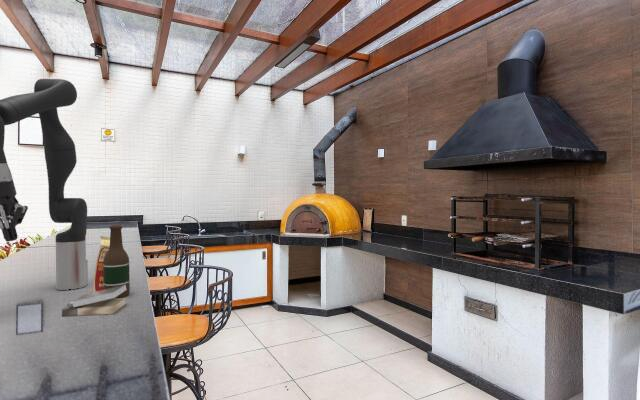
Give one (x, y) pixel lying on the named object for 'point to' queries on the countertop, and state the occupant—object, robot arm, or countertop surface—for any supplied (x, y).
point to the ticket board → (95, 308)
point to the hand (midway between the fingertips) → (11, 240)
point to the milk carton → (100, 264)
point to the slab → (98, 296)
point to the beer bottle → (116, 263)
